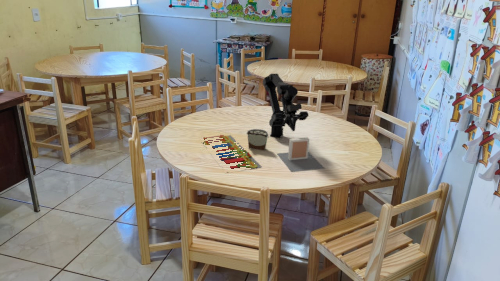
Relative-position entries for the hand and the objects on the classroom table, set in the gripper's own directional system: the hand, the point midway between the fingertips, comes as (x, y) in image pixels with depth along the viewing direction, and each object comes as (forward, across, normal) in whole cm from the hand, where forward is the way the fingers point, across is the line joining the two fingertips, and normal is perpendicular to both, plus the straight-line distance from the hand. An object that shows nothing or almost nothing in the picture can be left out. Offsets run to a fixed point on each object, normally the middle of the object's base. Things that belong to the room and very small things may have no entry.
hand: (293, 130), depth 192 cm
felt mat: (+17, 0, +1) cm, 17 cm away
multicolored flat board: (+4, -34, +15) cm, 37 cm away
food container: (+2, -16, +16) cm, 23 cm away
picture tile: (+14, 0, +3) cm, 15 cm away
